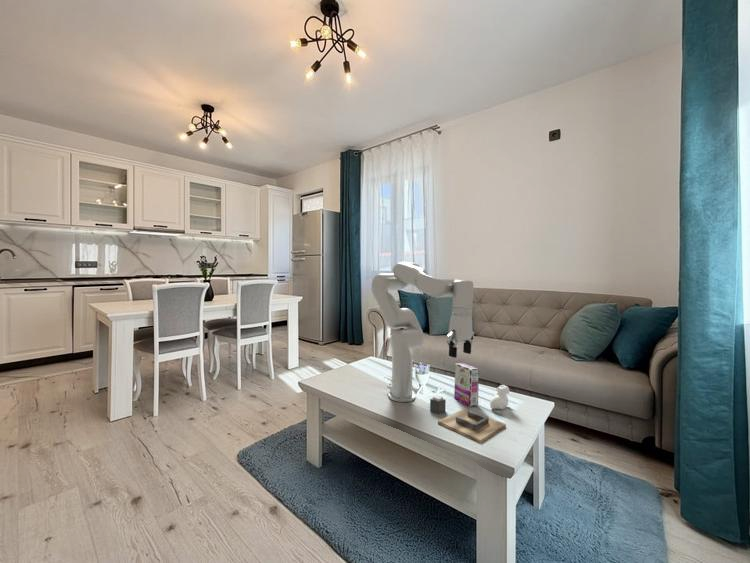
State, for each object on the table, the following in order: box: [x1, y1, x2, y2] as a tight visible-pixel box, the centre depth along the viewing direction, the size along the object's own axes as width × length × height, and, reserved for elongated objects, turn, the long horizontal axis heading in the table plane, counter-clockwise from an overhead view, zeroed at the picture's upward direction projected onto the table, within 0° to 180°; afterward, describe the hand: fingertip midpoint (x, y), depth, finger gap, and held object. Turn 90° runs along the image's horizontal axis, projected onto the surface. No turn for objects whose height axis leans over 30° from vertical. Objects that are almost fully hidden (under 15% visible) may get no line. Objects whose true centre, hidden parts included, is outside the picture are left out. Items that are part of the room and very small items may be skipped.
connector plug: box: [429, 394, 447, 415], centre depth 131 cm, size 4×4×6 cm
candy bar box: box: [453, 362, 480, 408], centre depth 142 cm, size 11×5×16 cm, turn 23°
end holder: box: [437, 408, 507, 444], centre depth 119 cm, size 18×18×3 cm
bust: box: [489, 384, 510, 410], centre depth 135 cm, size 12×8×11 cm
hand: (459, 354), depth 123 cm, fingers open, 9 cm apart
